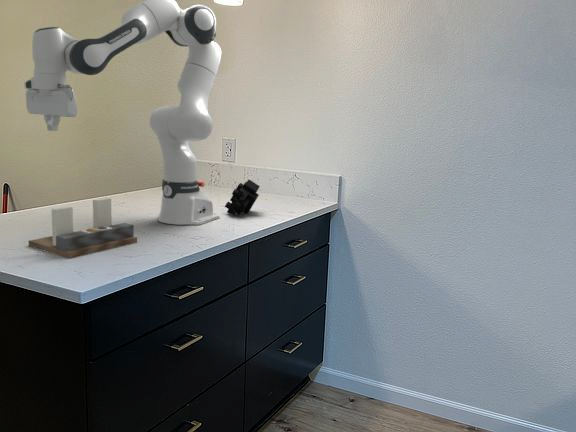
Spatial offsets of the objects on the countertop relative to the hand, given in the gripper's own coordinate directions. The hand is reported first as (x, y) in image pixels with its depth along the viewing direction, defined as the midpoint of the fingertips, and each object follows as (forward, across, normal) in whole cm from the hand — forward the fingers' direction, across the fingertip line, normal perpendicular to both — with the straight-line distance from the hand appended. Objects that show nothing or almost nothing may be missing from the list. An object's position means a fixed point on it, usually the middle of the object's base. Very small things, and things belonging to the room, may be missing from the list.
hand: (52, 130), depth 173 cm
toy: (+32, -25, -61) cm, 73 cm away
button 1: (+28, -22, +14) cm, 39 cm away
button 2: (+29, -19, -2) cm, 34 cm away
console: (+30, -21, +6) cm, 37 cm away
